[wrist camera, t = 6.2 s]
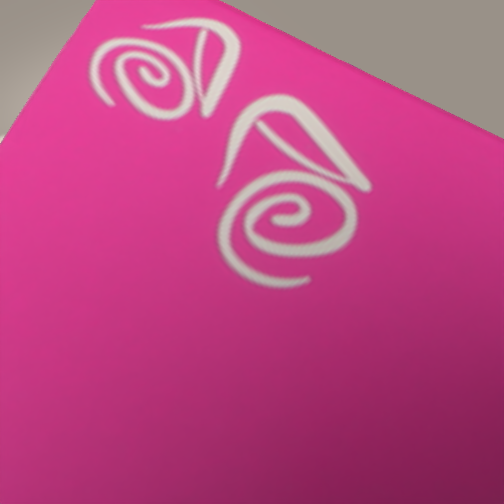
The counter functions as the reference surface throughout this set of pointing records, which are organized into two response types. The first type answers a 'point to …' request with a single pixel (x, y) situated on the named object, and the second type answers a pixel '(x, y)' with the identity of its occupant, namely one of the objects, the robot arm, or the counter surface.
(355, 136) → the supplement box
